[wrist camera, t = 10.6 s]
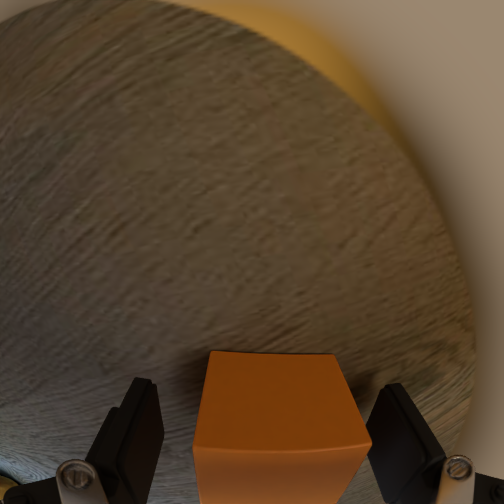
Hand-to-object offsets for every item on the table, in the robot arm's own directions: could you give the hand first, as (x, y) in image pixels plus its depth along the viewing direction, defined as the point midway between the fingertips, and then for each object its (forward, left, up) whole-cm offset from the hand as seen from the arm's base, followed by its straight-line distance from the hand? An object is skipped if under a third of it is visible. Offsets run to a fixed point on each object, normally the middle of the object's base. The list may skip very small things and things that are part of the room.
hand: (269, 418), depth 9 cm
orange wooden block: (0, 0, -1) cm, 1 cm away
